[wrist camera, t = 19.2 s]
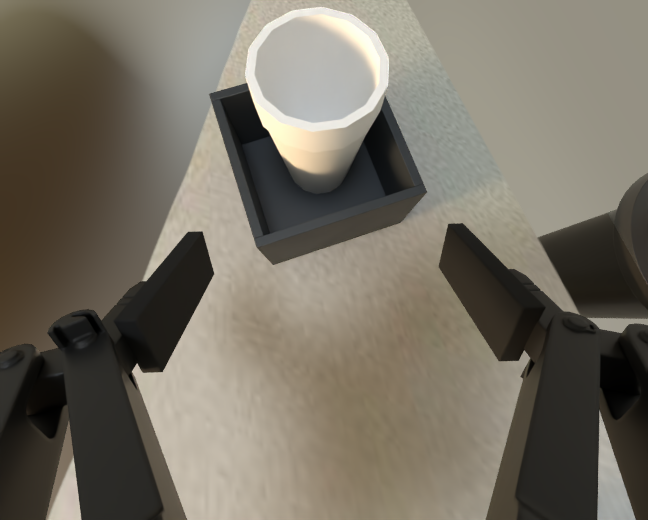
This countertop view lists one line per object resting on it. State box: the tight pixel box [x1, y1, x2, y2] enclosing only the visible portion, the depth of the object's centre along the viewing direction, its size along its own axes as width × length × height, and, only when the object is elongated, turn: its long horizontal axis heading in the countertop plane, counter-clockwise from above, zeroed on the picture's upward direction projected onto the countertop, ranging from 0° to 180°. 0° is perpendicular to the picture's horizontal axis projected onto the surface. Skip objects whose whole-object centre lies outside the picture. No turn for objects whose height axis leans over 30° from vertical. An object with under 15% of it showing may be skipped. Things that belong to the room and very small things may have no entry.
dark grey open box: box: [209, 83, 427, 265], centre depth 28 cm, size 15×15×8 cm
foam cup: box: [245, 7, 389, 194], centre depth 25 cm, size 10×9×13 cm
